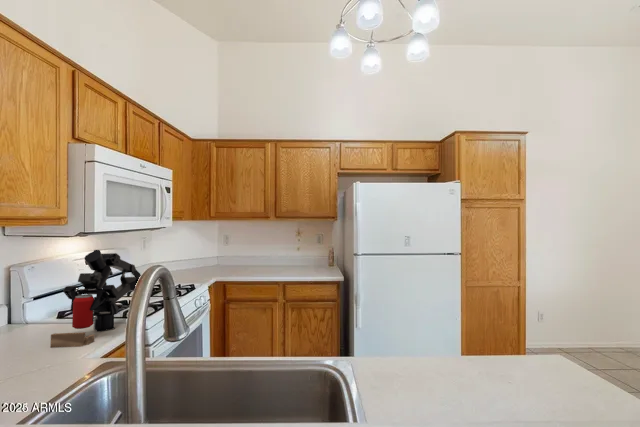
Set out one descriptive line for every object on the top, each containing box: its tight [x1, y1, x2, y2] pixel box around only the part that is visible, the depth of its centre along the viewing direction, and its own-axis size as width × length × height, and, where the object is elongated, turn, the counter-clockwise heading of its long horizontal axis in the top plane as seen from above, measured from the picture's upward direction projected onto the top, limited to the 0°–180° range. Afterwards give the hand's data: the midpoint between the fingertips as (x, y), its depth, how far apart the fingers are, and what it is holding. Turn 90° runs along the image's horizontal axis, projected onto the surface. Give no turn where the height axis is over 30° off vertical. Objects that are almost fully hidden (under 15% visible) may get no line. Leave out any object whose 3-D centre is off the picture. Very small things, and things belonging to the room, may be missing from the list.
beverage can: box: [71, 294, 95, 330], centre depth 129 cm, size 7×7×12 cm
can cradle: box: [50, 332, 95, 348], centre depth 122 cm, size 6×12×4 cm, turn 93°
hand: (81, 310), depth 127 cm, fingers closed on beverage can, 7 cm apart
